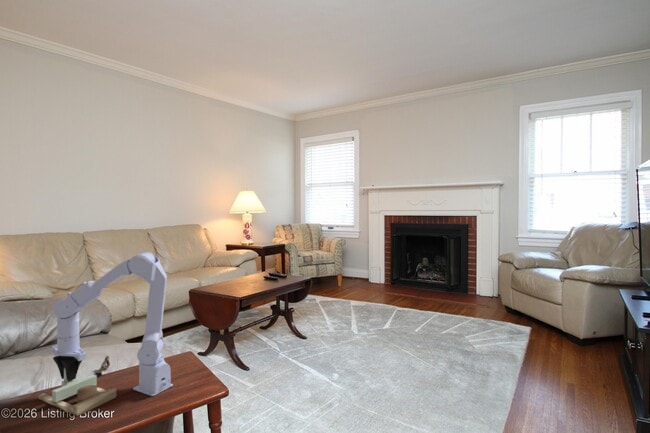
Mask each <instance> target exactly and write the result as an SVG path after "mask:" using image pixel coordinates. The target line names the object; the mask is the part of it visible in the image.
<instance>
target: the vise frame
mask: <svg viewBox="0 0 650 433" xmlns="http://www.w3.org/2000/svg"><path fill="white" fill-rule="evenodd" d="M116 398H117V388H114V387H111V388H109V389H104V388H101V387H98V386H97V395H95V396H93V397H91V398H88V399H86V400H84V401H82V402H80V403H75V404H70V403H68V402H66V401H63V400H61V401H58V402H54V401H52V395H49V394H47V393H41V394H39V395H38V400H41V401H43V402H44V403H47V404H48V405H49V404H50V405H51V406H55V408H59V409H60V410H62V411H63V410H64V411H65V412H68V413H70V414H72V415H74V416H77V417H78V416H80V415H82V414H85V413H87V412H89V411H90V410H93V409H95V408H97V407H99V406H101V405H104V404H106V403H108V402H109V401H112V400H114V399H116Z"/></svg>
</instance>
